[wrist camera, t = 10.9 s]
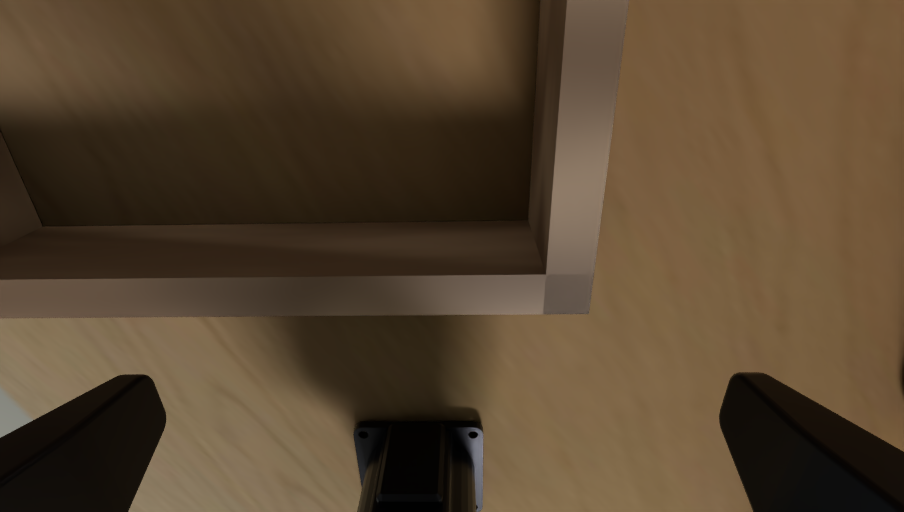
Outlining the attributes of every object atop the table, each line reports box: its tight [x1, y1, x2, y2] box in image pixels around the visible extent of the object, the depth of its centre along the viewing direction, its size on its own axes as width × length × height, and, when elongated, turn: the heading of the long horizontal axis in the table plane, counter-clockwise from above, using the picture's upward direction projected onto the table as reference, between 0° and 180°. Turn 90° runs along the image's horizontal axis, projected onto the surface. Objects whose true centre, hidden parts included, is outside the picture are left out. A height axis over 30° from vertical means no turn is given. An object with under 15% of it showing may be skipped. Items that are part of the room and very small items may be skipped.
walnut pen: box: [0, 0, 629, 318], centre depth 14 cm, size 16×23×4 cm
